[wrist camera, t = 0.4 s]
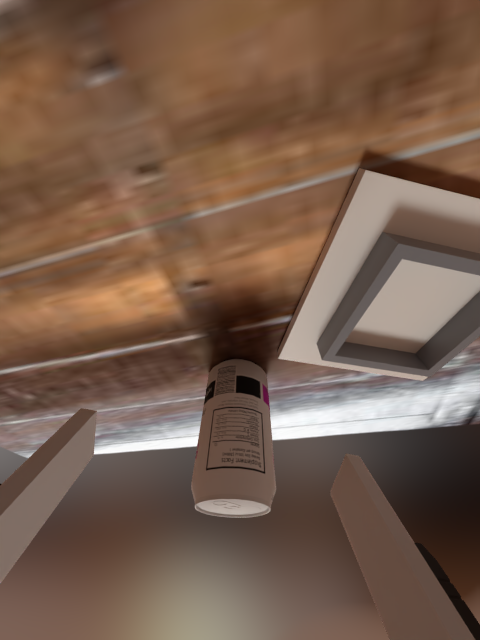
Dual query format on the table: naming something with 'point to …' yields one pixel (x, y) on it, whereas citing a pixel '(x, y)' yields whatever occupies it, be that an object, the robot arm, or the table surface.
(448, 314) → the socket board
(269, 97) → the table surface
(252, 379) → the supplement can
